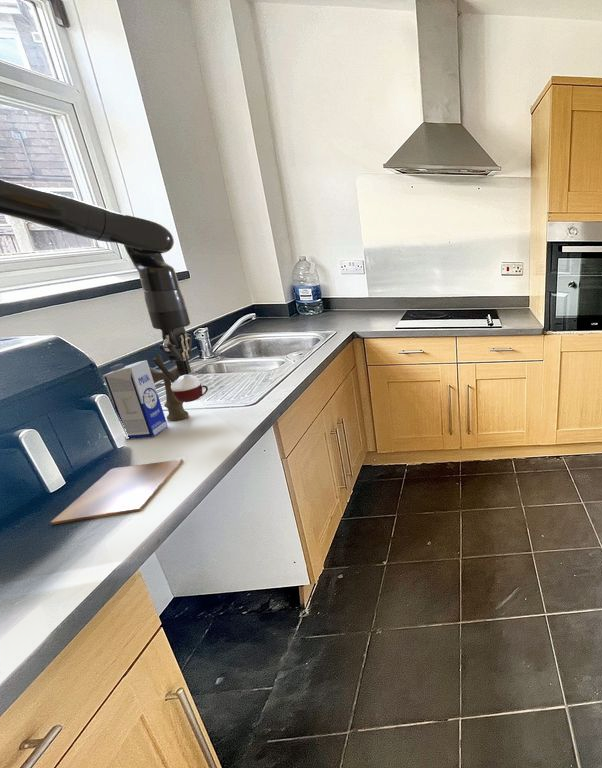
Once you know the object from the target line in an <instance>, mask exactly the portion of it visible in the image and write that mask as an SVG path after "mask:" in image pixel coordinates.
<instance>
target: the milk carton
mask: <svg viewBox="0 0 602 768" xmlns="http://www.w3.org/2000/svg"><path fill="white" fill-rule="evenodd" d="M149 367H150V365H149V362H148V359H145V360H140V361H137V362H134V363H131V364H128V365H125V364H124V363H118V364H115V365H112V366H110V367H109V370H110V372H108V373H106V374H103V375H102V378H103V382H104V384H105V387H106V390H107V389H108V390H107V392H109V393H108V395H109V398H110V397H111V398H110V400H111V399H112V401H111V403H112V402H113V404H114V406H115V409H116V411H117V413H118V415H119V417H120V419H121V421H122V423H123V425H124V428H125V429H126V432H127V434H128V437H129V439H128V440H132V439H131V438H136V439H144V438H145V439H146V438H147V439H148V438H155V437H156V436H157V435H158V434H160V433H161V432H163V431H164V430H165V429H166V428H168V427H169V426H168V422H167V418H166V415H165V413H164V409H163V406H162V404H161V400H160V397H159V394H158V391H157V388H156V385H155V384H156V383H155V384H154V381H153V378H152V375H151V372H150V368H149ZM113 404H112V405H113ZM115 409H114V410H115ZM167 426H168V427H167ZM164 428H165V429H164ZM163 429H164V430H163Z"/></svg>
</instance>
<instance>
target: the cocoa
mask: <svg viewBox="0 0 602 768" xmlns="http://www.w3.org/2000/svg"><path fill="white" fill-rule="evenodd" d="M152 362H153V363H154V364H155V365H156V366H157V367H158V368H159V370H161V371H162V372H163V373H164V374H165V375H166V376H167V377H168V379H169V380H170V382H171V389H172V391H173V393H174V395H175V397H176V398H177V399H178V400H179V401H182V402H184V403H191V402H195V401H197V400H199V399H200V398H202V397H203V396H204V395H205V394H207V392H209V391H208V390H209V387H208V386H207V385H206V384H205V385H202V383H201V382H200V379H199V378H198V377H196V376H195V375H191V374H188V375H183V376H180V377H179V378H178V379H177V380H176V379H175V378H174V377H173V376H172V375H171V374H170V372H169V371H168V370H169V369H167V367H166V366H165V365H164V366H165V367H164V366H163V364H162V363H161V362H160V361H159V359H158V358H157V357H154V358H152ZM203 388H204V389H205V390H204V392H203Z"/></svg>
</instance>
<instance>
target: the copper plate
mask: <svg viewBox="0 0 602 768" xmlns="http://www.w3.org/2000/svg"><path fill="white" fill-rule="evenodd" d="M183 462H184V461H183V459H173V460H165V461H159V462H149V463H143V464H135V465H128V466H120V467H112V468H110V469H109V470H108V471H107V472H105V474H103V475H102V476H101V477H100V478H99V479H97V480H96V481H95V482H94V483H93V484H92V485H91V486H90V487H88V488H87V490H85V491H84V492H83V493H81V495H80V496H79V497H77V498H76V499H75V500H74V501H73V502H72V503H70V504H69V505H68V506H67V507H65V508H64V509H63V510H62V512H60V513H59V514H58V515H57V516H55V518H53V519H52V520H51V521H50V524H51V525H52V526H53V525H58V524H65V523H72V522H79V521H83V520H84V521H85V520H91V519H97V518H105V517H111V516H118V515H124V514H130V513H137V512H141V511H142V510H143V509H144V508H145V506H146V505H148V503H149V502H150V501H151V499H152V498H153V497H154V496H155V495H156V493H158V491H159V490H160V489H161V488H162V487H163V485H164V484H165V483H166V482H167V480H169V479H170V477H172V475H174V472H175V471H176V470H177V469H178V468H179V467H180V465H182V463H183Z"/></svg>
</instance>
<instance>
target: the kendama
mask: <svg viewBox="0 0 602 768" xmlns="http://www.w3.org/2000/svg"><path fill="white" fill-rule="evenodd" d="M157 357H158V358H157V359H158V360H159V361H160V362H161V363H162V364H163V366H164V367H165V368H166V366H165V363H164V360H163V358H162V355H161V353H157ZM149 368H150V372H151V375H152V378H153V381H154V384H157V383H158V382H160V381H163V384H164V390H165V398H166V399H165V403H164V404H163V406H164V407H165V408H166V409H167V412H168V414H167V415H166V420H168V421H178V420H181V419H184V418H186V417H188V416H189V412H188V411H186V410H185V409H184V405H183V404H184V403H185V402H182V401H179V400H178V399H177V398H176V397H175V395H174V393H173V391H172V389H171V384H172V382H171V381H170V380H169V379H168V377H167V376H166V375H165V374H164V373H163V372H162V371H161V369H157V368H154V367H152V366H149ZM167 370H168V371H169V372H170V374H171V375H172V376H173V377H174V378H175V379H176V380H177V379H178V378H179V377H180V376H183V375H179V373H178V369H177V365H176V364H175V365H174V366H173V367H172V368H170V369H167Z"/></svg>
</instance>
